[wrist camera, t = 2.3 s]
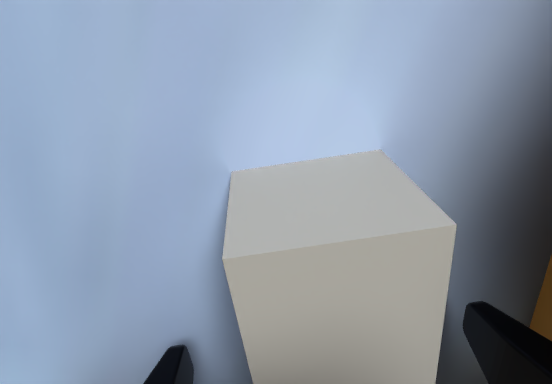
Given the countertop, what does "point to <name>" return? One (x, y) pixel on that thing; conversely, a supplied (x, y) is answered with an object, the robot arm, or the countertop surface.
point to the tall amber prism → (544, 307)
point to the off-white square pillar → (337, 271)
